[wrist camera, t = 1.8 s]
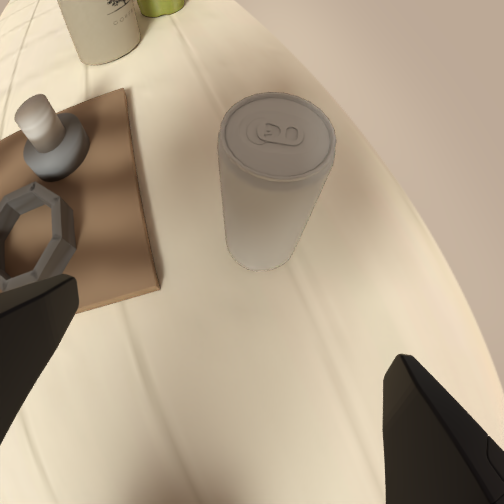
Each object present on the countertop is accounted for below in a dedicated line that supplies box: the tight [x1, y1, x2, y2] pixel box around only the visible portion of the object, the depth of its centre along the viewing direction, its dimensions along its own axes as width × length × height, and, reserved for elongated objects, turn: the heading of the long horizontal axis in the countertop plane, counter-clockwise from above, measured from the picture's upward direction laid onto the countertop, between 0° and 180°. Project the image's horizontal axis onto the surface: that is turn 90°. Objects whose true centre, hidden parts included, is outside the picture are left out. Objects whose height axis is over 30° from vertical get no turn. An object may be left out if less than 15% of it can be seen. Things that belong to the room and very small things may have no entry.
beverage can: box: [218, 92, 336, 272], centre depth 18 cm, size 5×5×12 cm
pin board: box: [0, 88, 160, 314], centre depth 20 cm, size 20×16×8 cm
